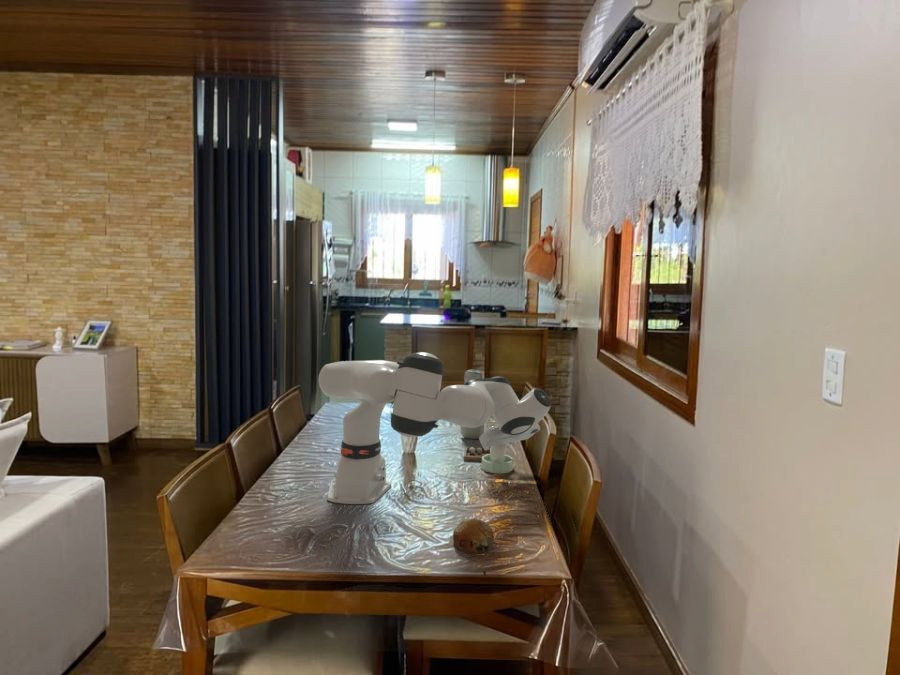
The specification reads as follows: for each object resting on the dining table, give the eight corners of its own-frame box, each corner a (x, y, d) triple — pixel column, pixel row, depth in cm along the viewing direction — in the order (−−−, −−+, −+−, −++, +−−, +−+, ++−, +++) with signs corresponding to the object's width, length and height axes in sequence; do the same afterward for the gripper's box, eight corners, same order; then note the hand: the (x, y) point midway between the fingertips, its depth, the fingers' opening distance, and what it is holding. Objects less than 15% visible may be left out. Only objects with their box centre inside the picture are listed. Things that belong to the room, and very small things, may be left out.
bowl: (512, 476, 200) (513, 464, 199) (481, 475, 201) (481, 462, 200) (512, 466, 210) (512, 454, 210) (481, 465, 211) (482, 453, 210)
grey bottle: (483, 435, 248) (485, 367, 245) (484, 443, 238) (486, 372, 234) (459, 435, 248) (461, 367, 245) (459, 442, 238) (461, 371, 235)
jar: (504, 471, 202) (505, 439, 201) (488, 470, 203) (489, 438, 202) (504, 466, 208) (505, 435, 206) (489, 465, 208) (490, 434, 207)
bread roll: (491, 553, 154) (491, 519, 157) (496, 553, 144) (496, 517, 147) (452, 552, 154) (452, 519, 156) (454, 553, 144) (454, 517, 147)
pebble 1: (475, 455, 219) (475, 448, 219) (468, 454, 219) (468, 448, 219) (475, 453, 221) (475, 446, 221) (468, 452, 221) (469, 446, 221)
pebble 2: (482, 454, 219) (482, 448, 219) (476, 454, 220) (476, 448, 219) (482, 452, 222) (482, 447, 221) (476, 452, 222) (476, 446, 222)
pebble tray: (492, 465, 211) (492, 458, 211) (463, 463, 212) (464, 456, 212) (492, 455, 222) (493, 448, 222) (465, 454, 223) (465, 447, 223)
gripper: (496, 437, 188) (476, 459, 197) (544, 428, 200) (523, 449, 209) (487, 420, 191) (468, 442, 200) (535, 412, 203) (514, 434, 212)
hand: (496, 446), depth 205 cm, fingers open, 8 cm apart
